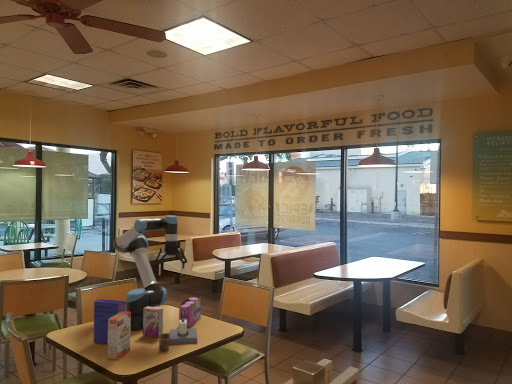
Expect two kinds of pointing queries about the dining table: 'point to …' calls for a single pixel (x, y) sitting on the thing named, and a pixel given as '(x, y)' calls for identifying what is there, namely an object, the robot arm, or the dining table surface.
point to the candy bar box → (152, 321)
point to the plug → (182, 327)
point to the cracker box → (119, 335)
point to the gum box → (190, 310)
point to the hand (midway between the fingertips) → (170, 274)
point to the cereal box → (105, 317)
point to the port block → (188, 338)
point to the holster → (164, 342)
